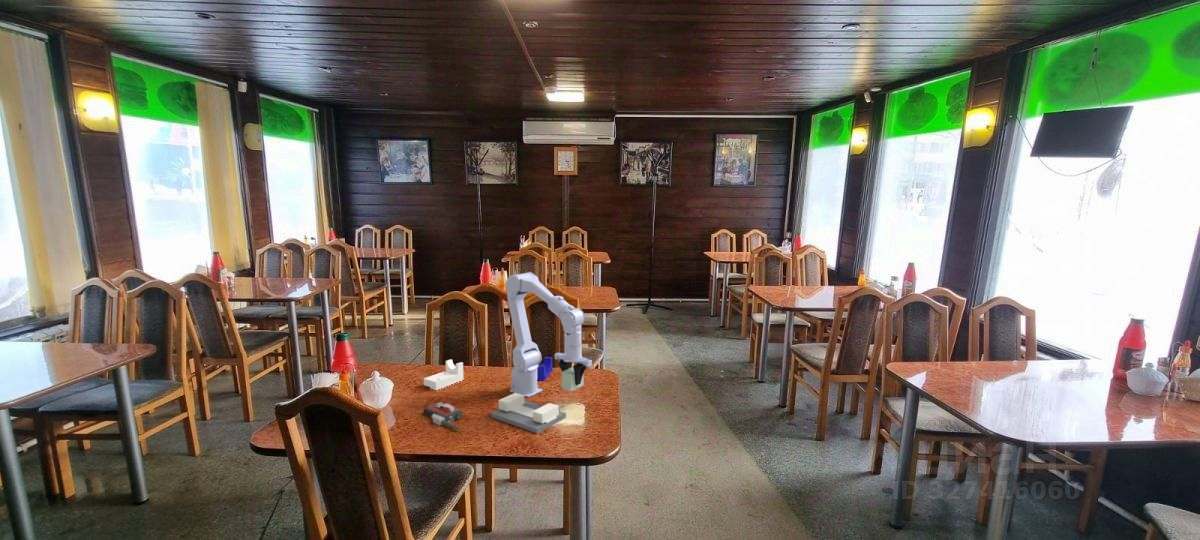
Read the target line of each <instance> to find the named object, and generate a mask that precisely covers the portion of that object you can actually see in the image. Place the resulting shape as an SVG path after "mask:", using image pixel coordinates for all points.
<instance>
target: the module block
mask: <svg viewBox="0 0 1200 540" xmlns="http://www.w3.org/2000/svg"><path fill="white" fill-rule="evenodd" d="M584 373H585V372H584ZM584 373H583V376H582V380H581V384H579V385H576V384H575V373H574V369H573V366H571V368H569V369H567V370H565V371H563V372H562V371H561V389H562V390H564V391H569V392H573V391H575V390H577V389H579V388H581V387H583V386H584V377H585V376H584Z"/></svg>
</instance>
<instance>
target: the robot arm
mask: <svg viewBox="0 0 1200 540" xmlns="http://www.w3.org/2000/svg"><path fill="white" fill-rule="evenodd" d="M505 287H506V291H507V295H506V296H507V297H506V298H507V303H508V308H509V312H510V317H511V321H512V327H513V331H514V336H515V341H516V342H515V343H516V345H515V347H514V348H513V350H512V363H513V367H514V368H513V369H512V371H511V373H510V382H511V383H510V384H511V385H510V388H511V389H510V390H509V392H510V393H512V394H514V393H518V394H522V395H524V397H526V398H530V397H532V396H534V395H536V394H538V393H541V392H543V389H542V388H540V387H538V381H537V367H538V365H540V364H541V362H542V353H541V352H540V350H539V347H538V344H537V343H535V342H534V341H532V336H531V332H530V327H529V321H528V317H527V312H526V307H525V303H524V299H525V297H526V296H527V294H529V293H533V294H534V295H536V296H537V297H539V299H541V300H542V301H544V302H545V303H546V304H547V309H548V310H550V311H551V313H554V315H555V316H557V318H559V319H560V322H561V325H562V328H563V331H564V352H556V353H554V359H555V360H560V361H559V362H558V366H559V368H560V370H561V373H562V372H563V371H565V370H567V369H569V368H572V367H573V369H574V373H575V384H576V385H579V384H581V380H582V376H583V373H585V371H586V369H587V368H590V367H592V366H593V364H592V363H593V362H592V359H588V358H587V357H584V356H582V324H583V323H584V322H585V320H586V316H585V313H584V311H583V310H582V308H579V307H574V306H573V305H572V304H569V303H568V302H567V301H566V300H565V298H564V296H561V295H554V294H553V293H552V292H551V291H550V289H548V288H546V286H545V285H543V284H542V282H540V280H539V277H538V276H536V275H535V274H534V273H533V272H531V271H528V272H523V273H518V274H511V275H510V276H508V278H507V280H506V281H505ZM573 364H575V365H573ZM572 365H573V366H572Z"/></svg>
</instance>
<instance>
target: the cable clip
mask: <svg viewBox="0 0 1200 540" xmlns="http://www.w3.org/2000/svg"><path fill="white" fill-rule="evenodd" d="M552 372H553V357H552V356H545V357H544V358H543V363H540V364H538V367H537V380H538V381H539V382H545V380H546V379H548V377H549V376H548V375H550V374H551V373H552ZM547 376H548V377H547ZM538 381H537V382H538Z"/></svg>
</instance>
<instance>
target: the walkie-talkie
mask: <svg viewBox="0 0 1200 540" xmlns="http://www.w3.org/2000/svg"><path fill="white" fill-rule="evenodd" d="M422 413H424V414H425V415H426V416H429V417H430V418H431V419H432V423H434V424H435V425H438V426H439V427H440V426H441V427H442V426H446V427H449V428H450V429H455V430H458V431H459V430H460V427H459V426H458V425H455V424H453V423H452V422H453V421H456V420H460V419H462V418H463V410H462V409H460V408H458V407H455V406H454V405H451V403H445V402H442V401H437V402H434V403H433V404H430V405H428V406H426V409H423V411H422Z"/></svg>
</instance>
